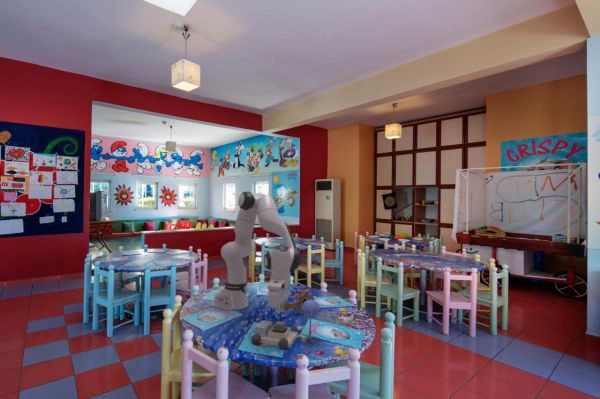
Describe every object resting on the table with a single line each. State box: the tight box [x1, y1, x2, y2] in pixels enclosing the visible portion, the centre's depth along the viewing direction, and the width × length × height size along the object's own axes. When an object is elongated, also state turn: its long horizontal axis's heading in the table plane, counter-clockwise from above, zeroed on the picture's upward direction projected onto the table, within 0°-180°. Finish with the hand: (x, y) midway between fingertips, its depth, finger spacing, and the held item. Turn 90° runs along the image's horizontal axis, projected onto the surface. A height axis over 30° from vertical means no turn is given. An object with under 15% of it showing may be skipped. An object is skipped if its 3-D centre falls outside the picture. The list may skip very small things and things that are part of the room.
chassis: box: [250, 319, 299, 350], centre depth 145 cm, size 18×16×6 cm
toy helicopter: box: [282, 288, 315, 316], centre depth 176 cm, size 8×21×14 cm, turn 121°
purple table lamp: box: [301, 299, 321, 341], centre depth 146 cm, size 9×9×18 cm
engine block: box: [272, 320, 287, 333], centre depth 144 cm, size 5×4×6 cm
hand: (280, 311), depth 144 cm, fingers open, 3 cm apart
